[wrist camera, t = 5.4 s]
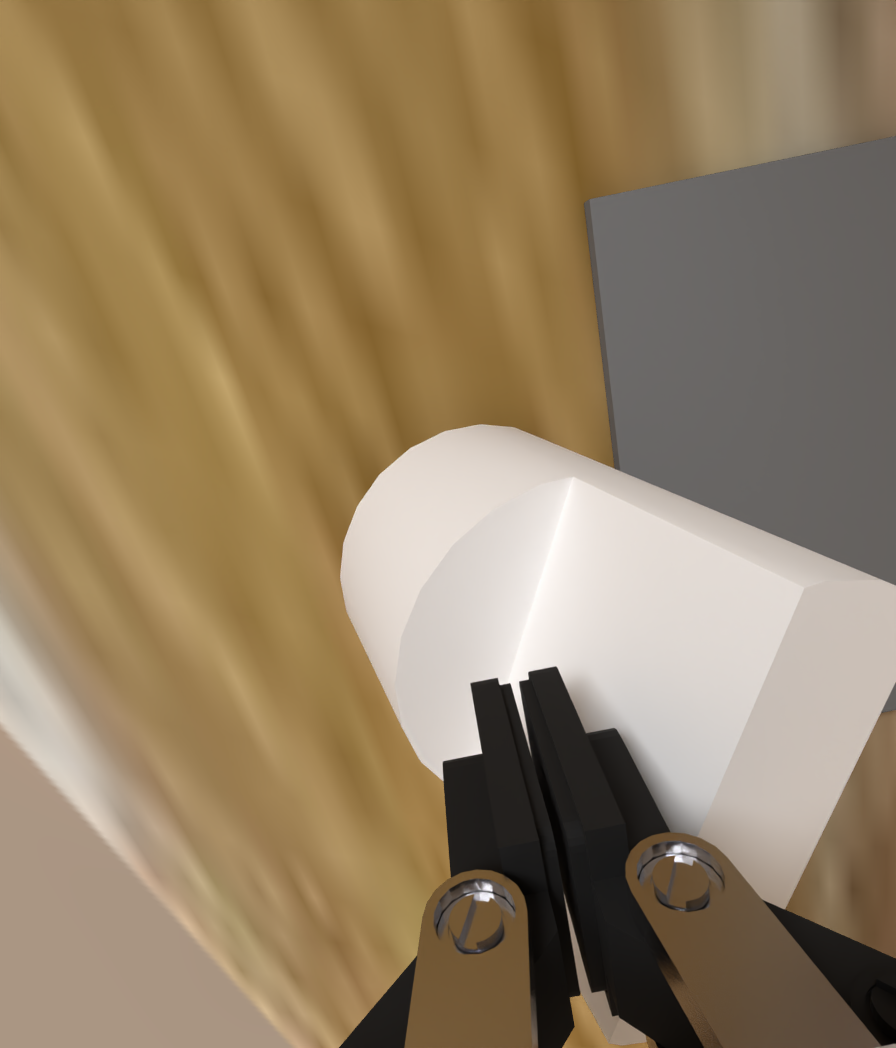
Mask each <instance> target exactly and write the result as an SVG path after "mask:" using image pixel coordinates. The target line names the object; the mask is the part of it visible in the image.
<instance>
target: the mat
mask: <svg viewBox="0 0 896 1048" xmlns="http://www.w3.org/2000/svg"><path fill="white" fill-rule="evenodd" d="M584 207H585V216H586V224H587V233H588V241H589V250H590V259H591V267H592V276H593V285H594V293H595V302H596V310H597V319H598V328H599V336H600V345H601V354H602V362H603V371H604V380H605V388H606V397H607V405H608V414H609V423H610V431H611V440H612V449H613V457H614V466H615V469H616V470H618V471H621V472H623V473H626V474H628V475H631V476H633V477H635V478H638V479H640V480H643V481H645V482H647V483H650V484H652V485H655V486H657V487H659V488H662V489H664V490H667V491H669V492H671V493H674V494H676V495H679V496H681V497H684V498H686V499H688V500H691V501H693V502H696V503H698V504H700V505H703V506H705V507H708V508H710V509H712V510H715V511H717V512H720V513H722V514H724V515H727V516H729V517H732V518H734V519H737V520H739V521H741V522H744V523H746V524H749V525H751V526H753V527H756V528H758V529H761V530H763V531H765V532H768V533H770V534H773V535H775V536H777V537H780V538H782V539H785V540H787V541H790V542H792V543H794V544H797V545H799V546H802V547H804V548H806V549H809V550H811V551H814V552H816V553H818V554H821V555H823V556H826V557H828V558H830V559H833V560H835V561H838V562H840V563H843V564H845V565H847V566H850V567H852V568H855V569H857V570H859V571H862V572H864V573H867V574H869V575H871V576H874V577H876V578H879V579H881V580H883V581H886V582H888V583H891V584H893V585H896V136H894V137H889V138H884V139H880V140H875V141H870V142H865V143H860V144H855V145H851V146H846V147H841V148H836V149H831V150H826V151H822V152H817V153H812V154H807V155H802V156H797V157H792V158H788V159H783V160H778V161H773V162H768V163H763V164H759V165H754V166H749V167H744V168H739V169H734V170H730V171H725V172H720V173H715V174H710V175H705V176H700V177H696V178H691V179H686V180H681V181H676V182H671V183H667V184H662V185H657V186H652V187H647V188H642V189H638V190H633V191H628V192H623V193H618V194H613V195H608V196H604V197H599V198H594V199H589V200H588V201H587V202H585V203H584ZM892 710H896V682H895V685H894V687H893V689H892V691H891V693H890V695H889V697H888V699H887V701H886V703H885V705H884V707H883V709H882V711H881V713H883V712H888V711H892Z"/></svg>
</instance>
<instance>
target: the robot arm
mask: <svg viewBox="0 0 896 1048" xmlns="http://www.w3.org/2000/svg"><path fill="white" fill-rule="evenodd" d="M528 677H529V680H523V681H519V687H520V693H521V698H522V704H523V710H524V716H525V722H526V728H527V733H528V739H529V745H530V750H529V747H528V743H527V740H526V736H525V733H524V729H523V726H522V722H521V719H520V715H519V711H518V708H517V704H516V701H515V697H514V694H513V690H512V687H511V684H510V683H508V684H503V685H500V684H499V681H498V678H493V679H488V680H483V681H478V682H473V683H470V686H471V692H472V697H473V703H474V709H475V715H476V721H477V726H478V732H479V738H480V744H481V750H482V754H477V755H472V756H467V757H462V758H457V759H452V760H447V761H443V780H444V793H445V806H446V819H447V832H448V845H449V858H450V871H451V878H449V879H447V880H446V881H445V882H444V883H443V884H442V885H440V886H439V887H438V888H437V889H436V890H435V891H434V893H433V894H432V896H431V897H430V899H429V900H428V902H427V904H426V907H425V911H424V914H423V917H422V924H421V932H420V939H419V946H418V953H417V956H416V958H415V959H414V960H413V961H412V962H411V964H410V965H409V966H408V967H407V968H406V969H405V971H404V972H403V973H402V974H401V975H400V977H399V978H398V979H397V980H396V981H395V982H394V984H393V985H392V986H391V987H390V988H389V989H388V991H387V992H386V993H385V994H384V995H383V997H382V998H381V999H380V1000H379V1001H378V1002H377V1004H376V1005H375V1006H374V1007H373V1008H372V1010H371V1011H370V1012H369V1013H368V1014H367V1015H366V1017H365V1018H364V1019H363V1020H362V1021H361V1022H360V1024H359V1025H358V1026H357V1027H356V1028H355V1030H354V1031H353V1032H352V1033H351V1034H350V1035H349V1037H348V1038H347V1039H346V1040H345V1041H344V1042H343V1044H342V1045H341V1046H340V1047H339V1048H562V1047H563V1045H564V1043H565V1042H566V1040H567V1038H568V1037H569V1035H570V1033H571V1031H572V1030H573V1028H574V1021H573V1015H572V1009H571V1003H570V998H569V997H574V996H579V995H580V988H579V982H578V976H577V970H576V964H575V958H574V952H573V946H572V940H571V934H570V928H569V922H568V916H567V910H566V904H565V899H566V903H567V906H568V910H569V914H570V917H571V921H572V925H573V928H574V932H575V936H576V939H577V943H578V946H579V950H580V954H581V957H582V961H583V965H584V968H585V972H586V976H587V979H588V983H589V986H590V990H591V992H592V993H594V992H600V991H605V994H606V997H607V1001H608V1004H609V1008H610V1011H611V1014H612V1017H613V1016H619V1018H620V1019H622V1020H624V1021H625V1022H627V1023H628V1024H630V1025H631V1026H633V1027H634V1028H636V1029H637V1030H639V1031H640V1032H642V1033H643V1034H645V1035H646V1041H647V1044H648V1047H649V1048H896V959H895V958H893V957H891V956H888V955H886V954H884V953H882V952H879V951H877V950H875V949H873V948H870V947H868V946H866V945H864V944H861V943H859V942H857V941H855V940H852V939H850V938H848V937H846V936H843V935H841V934H839V933H836V932H834V931H832V930H830V929H827V928H825V927H823V926H821V925H818V924H816V923H814V922H812V921H809V920H807V919H805V918H803V917H800V916H798V915H796V914H794V913H791V912H789V911H787V910H785V909H782V908H780V907H778V906H776V905H773V904H771V903H769V902H767V901H764V900H762V899H761V898H760V897H759V895H758V894H757V893H756V892H755V890H754V889H753V888H752V887H751V886H750V884H749V883H748V882H747V881H746V879H745V878H744V877H743V876H742V875H741V873H740V872H739V871H738V870H737V868H736V867H735V866H734V865H733V864H732V862H731V861H730V860H729V859H728V857H727V856H725V855H724V854H723V853H722V852H721V851H720V850H719V849H718V848H717V847H716V846H714V845H712V844H711V843H709V842H707V841H705V840H703V839H702V838H699V837H696V836H692V835H689V834H685V833H672V832H670V830H669V828H668V826H667V824H666V822H665V820H664V819H663V817H662V815H661V813H660V811H659V809H658V807H657V805H656V803H655V801H654V799H653V797H652V795H651V793H650V792H649V790H648V788H647V786H646V784H645V782H644V780H643V778H642V776H641V774H640V772H639V770H638V768H637V766H636V765H635V763H634V761H633V759H632V757H631V755H630V753H629V751H628V749H627V747H626V745H625V743H624V741H623V740H622V738H621V736H620V734H619V732H618V731H617V729H615V728H611V729H605V730H600V731H595V732H590V733H586V732H585V730H584V727H583V725H582V723H581V720H580V718H579V716H578V714H577V711H576V709H575V707H574V704H573V702H572V700H571V698H570V695H569V693H568V691H567V688H566V686H565V684H564V682H563V679H562V677H561V675H560V672H559V670H558V668H557V667H556V666H555V667H550V668H544V669H539V670H534V671H529V672H528ZM530 751H531V754H530ZM564 895H565V898H564Z"/></svg>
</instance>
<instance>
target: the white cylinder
mask: <svg viewBox="0 0 896 1048" xmlns="http://www.w3.org/2000/svg"><path fill="white" fill-rule="evenodd" d="M340 580H341V585H342V590H343V596H344V601H345V606H346V611H347V613H348V616H349V618H350V620H351V622H352V624H353V626H354V628H355V630H356V632H357V634H358V636H359V639H360V641H361V643H362V645H363V647H364V649H365V651H366V653H367V655H368V657H369V659H370V662H371V664H372V666H373V668H374V670H375V672H376V674H377V676H378V678H379V680H380V682H381V685H382V687H383V689H384V691H385V693H386V695H387V697H388V699H389V701H390V703H391V706H392V708H393V710H394V712H395V714H396V716H397V718H398V720H399V722H400V724H401V726H402V728H403V730H404V732H405V734H406V736H407V738H408V739H409V741H410V743H411V745H412V747H413V749H414V750H415V752H416V754H417V756H418V758H419V760H420V761H421V762H422V763H423V764H424V765H425V766H426V767H428V768H429V769H430V770H431V771H432V772H433V773H434V774H436V775H437V776H438V777H439V778H440V779H441V780H442V781H444V780H443V761H447V760H452V759H457V758H462V757H467V756H472V755H477V754H482V750H481V744H480V738H479V732H478V726H477V721H476V715H475V709H474V703H473V697H472V692H471V686H470V683H473V682H478V681H483V680H488V679H493V678H498V681H499V684H500V685H503V684H508V683H510V684H511V687H512V690H513V694H514V697H515V701H516V704H517V708H518V711H519V715H520V719H521V722H522V726H523V729H524V733H525V736H526V740H527V743H528V747H529V750H530V745H529V739H528V733H527V728H526V722H525V716H524V710H523V704H522V698H521V693H520V687H519V681H523V680H529V677H528V672H529V671H534V670H539V669H544V668H550V667H555V666H556V667H557V668H558V670H559V672H560V675H561V677H562V679H563V682H564V684H565V686H566V688H567V691H568V693H569V695H570V698H571V700H572V702H573V704H574V707H575V709H576V711H577V714H578V716H579V718H580V720H581V723H582V725H583V727H584V730H585V732H586V733H590V732H595V731H600V730H605V729H611V728H615V729H617V731H618V732H619V734H620V736H621V738H622V740H623V741H624V743H625V745H626V747H627V749H628V751H629V753H630V755H631V757H632V759H633V761H634V763H635V765H636V766H637V768H638V770H639V772H640V774H641V776H642V778H643V780H644V782H645V784H646V786H647V788H648V790H649V792H650V793H651V795H652V797H653V799H654V801H655V803H656V805H657V807H658V809H659V811H660V813H661V815H662V817H663V819H664V820H665V822H666V824H667V826H668V828H669V830H670V832H672V833H685V834H689V835H692V836H696V837H699V838H702V839H703V840H705V841H707V842H709V843H711V844H712V845H714V846H716V847H717V848H718V849H719V850H720V851H721V852H722V853H723V854H724V855H725V856H727V857H728V859H729V860H730V861H731V862H732V864H733V865H734V866H735V867H736V868H737V870H738V871H739V872H740V873H741V875H742V876H743V877H744V878H745V879H746V881H747V882H748V883H749V884H750V886H751V887H752V888H753V889H754V890H755V892H756V893H757V894H758V895H759V897H760V898H761V899H762V900H764V901H767V902H769V903H771V904H773V905H776V906H778V907H780V908H782V909H786V907H787V904H788V902H789V900H790V898H791V896H792V894H793V892H794V890H795V888H796V886H797V884H798V882H799V880H800V878H801V876H802V874H803V872H804V870H805V867H806V865H807V863H808V861H809V859H810V857H811V855H812V853H813V851H814V849H815V847H816V845H817V843H818V841H819V839H820V837H821V835H822V833H823V830H824V828H825V826H826V824H827V822H828V820H829V818H830V816H831V814H832V812H833V810H834V808H835V806H836V804H837V802H838V800H839V798H840V796H841V793H842V791H843V789H844V787H845V785H846V783H847V781H848V779H849V777H850V775H851V773H852V771H853V769H854V767H855V765H856V763H857V761H858V759H859V756H860V754H861V752H862V750H863V748H864V746H865V744H866V742H867V740H868V738H869V736H870V734H871V732H872V730H873V728H874V726H875V724H876V722H877V719H878V717H879V715H880V713H881V711H882V709H883V707H884V705H885V703H886V701H887V699H888V697H889V695H890V693H891V691H892V689H893V687H894V685H895V682H896V585H893V584H891V583H888V582H886V581H883V580H881V579H879V578H876V577H874V576H871V575H869V574H867V573H864V572H862V571H859V570H857V569H855V568H852V567H850V566H847V565H845V564H843V563H840V562H838V561H835V560H833V559H830V558H828V557H826V556H823V555H821V554H818V553H816V552H814V551H811V550H809V549H806V548H804V547H802V546H799V545H797V544H794V543H792V542H790V541H787V540H785V539H782V538H780V537H777V536H775V535H773V534H770V533H768V532H765V531H763V530H761V529H758V528H756V527H753V526H751V525H749V524H746V523H744V522H741V521H739V520H737V519H734V518H732V517H729V516H727V515H724V514H722V513H720V512H717V511H715V510H712V509H710V508H708V507H705V506H703V505H700V504H698V503H696V502H693V501H691V500H688V499H686V498H684V497H681V496H679V495H676V494H674V493H671V492H669V491H667V490H664V489H662V488H659V487H657V486H655V485H652V484H650V483H647V482H645V481H643V480H640V479H638V478H635V477H633V476H631V475H628V474H626V473H623V472H621V471H618V470H616V469H614V468H611V467H609V466H606V465H604V464H602V463H599V462H597V461H594V460H592V459H590V458H587V457H585V456H582V455H580V454H578V453H575V452H573V451H570V450H568V449H565V448H563V447H561V446H558V445H556V444H553V443H551V442H549V441H546V440H544V439H541V438H539V437H536V436H534V435H532V434H529V433H527V432H524V431H522V430H519V429H517V428H514V427H504V426H493V425H481V424H480V425H474V426H469V427H464V428H459V429H454V430H449V431H444V432H442V433H440V434H438V435H436V436H434V437H432V438H430V439H428V440H426V441H424V442H422V443H420V444H418V445H416V446H414V447H412V448H410V449H409V450H408V451H406V452H405V453H404V454H403V455H402V456H401V457H399V458H398V459H397V460H396V461H395V462H394V463H392V464H391V465H390V466H389V467H388V468H387V469H385V470H384V471H383V472H382V473H381V474H380V475H379V476H378V478H377V479H376V480H375V482H374V483H373V485H372V486H371V488H370V489H369V490H368V492H367V493H366V495H365V496H364V497H363V499H362V500H361V502H360V503H359V505H358V506H357V508H356V511H355V513H354V516H353V519H352V521H351V524H350V527H349V529H348V532H347V535H346V537H345V540H344V543H343V554H342V564H341V575H340ZM530 754H531V751H530ZM564 898H565V895H564ZM565 904H566V910H567V916H568V922H569V928H570V934H571V940H572V946H573V952H574V958H575V964H576V970H577V976H578V982H579V988H580V992H581V994H582V996H583V997H584V999H585V1001H586V1003H587V1005H588V1007H589V1008H590V1010H591V1012H592V1014H593V1016H594V1017H595V1019H596V1021H597V1023H598V1025H599V1026H600V1028H601V1030H602V1032H603V1034H604V1035H605V1037H606V1039H607V1041H608V1043H610V1044H616V1045H628V1044H636V1043H643V1042H647V1041H646V1035H645V1034H643V1033H642V1032H640V1031H639V1030H637V1029H636V1028H634V1027H633V1026H631V1025H630V1024H628V1023H627V1022H625V1021H624V1020H622V1019H620V1018H619V1016H613V1017H612V1014H611V1011H610V1008H609V1004H608V1001H607V997H606V994H605V991H600V992H594V993H592V992H591V990H590V986H589V983H588V979H587V976H586V972H585V968H584V965H583V961H582V957H581V954H580V950H579V946H578V943H577V939H576V936H575V932H574V928H573V925H572V921H571V917H570V914H569V910H568V906H567V903H566V899H565Z"/></svg>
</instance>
